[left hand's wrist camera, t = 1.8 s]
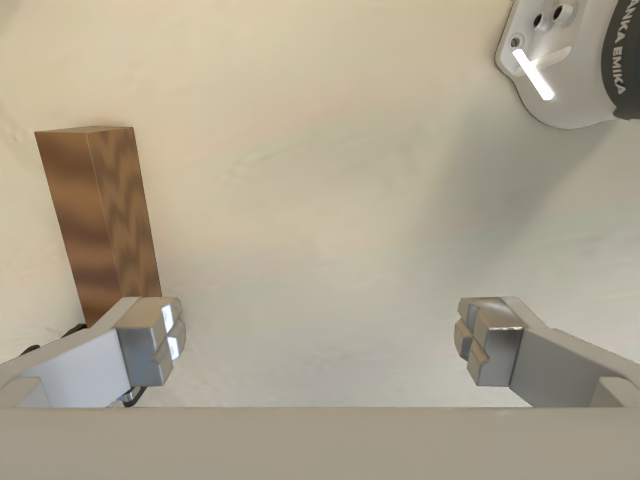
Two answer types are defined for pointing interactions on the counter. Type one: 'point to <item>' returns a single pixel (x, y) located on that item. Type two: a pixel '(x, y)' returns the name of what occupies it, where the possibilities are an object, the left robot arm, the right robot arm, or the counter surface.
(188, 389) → the counter surface
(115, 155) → the bar
